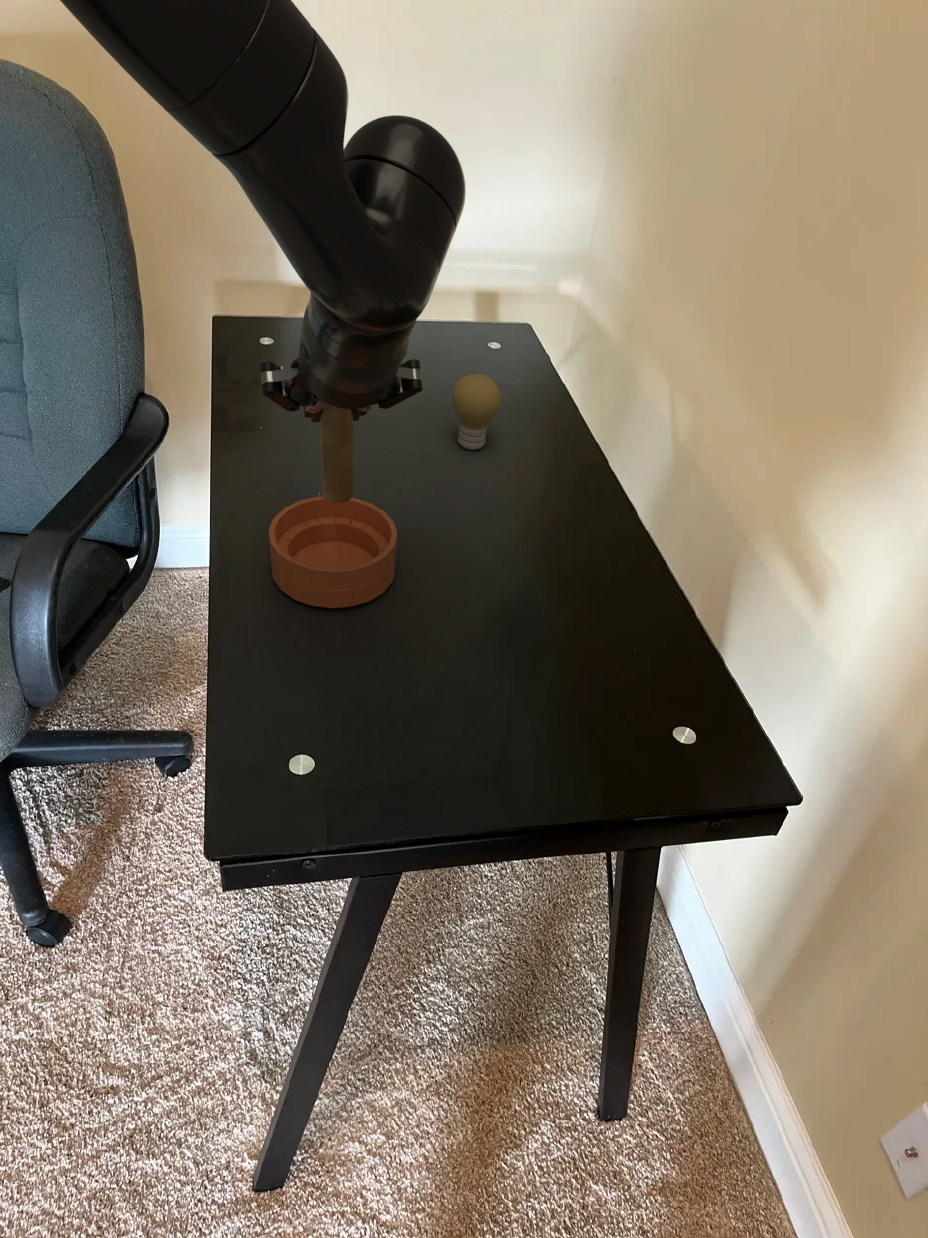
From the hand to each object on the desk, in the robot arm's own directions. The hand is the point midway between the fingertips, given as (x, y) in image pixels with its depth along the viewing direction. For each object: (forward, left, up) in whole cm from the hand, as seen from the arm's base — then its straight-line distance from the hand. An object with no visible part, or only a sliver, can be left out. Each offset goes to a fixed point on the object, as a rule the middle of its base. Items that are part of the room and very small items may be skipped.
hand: (333, 410), depth 77 cm
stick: (0, -2, -8) cm, 8 cm away
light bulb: (+22, +25, -20) cm, 39 cm away
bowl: (0, 0, -20) cm, 20 cm away
